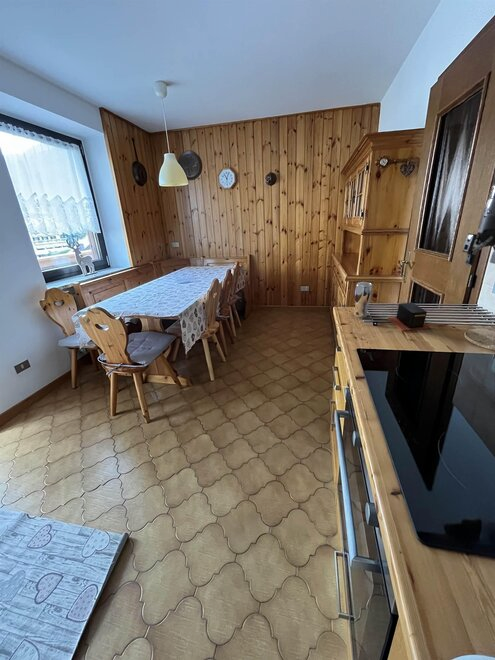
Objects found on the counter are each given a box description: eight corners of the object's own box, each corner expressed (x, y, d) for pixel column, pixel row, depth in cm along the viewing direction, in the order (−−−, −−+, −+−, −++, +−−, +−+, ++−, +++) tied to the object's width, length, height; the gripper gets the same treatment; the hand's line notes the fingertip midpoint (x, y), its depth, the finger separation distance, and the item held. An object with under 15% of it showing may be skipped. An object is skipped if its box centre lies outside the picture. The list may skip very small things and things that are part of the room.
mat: (414, 316, 126) (414, 315, 126) (431, 328, 116) (431, 327, 115) (387, 318, 126) (387, 317, 126) (402, 331, 115) (402, 330, 115)
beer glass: (365, 311, 134) (370, 281, 127) (370, 318, 127) (374, 286, 121) (350, 312, 134) (354, 281, 127) (354, 318, 128) (358, 287, 121)
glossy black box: (396, 318, 125) (398, 303, 122) (409, 317, 125) (412, 302, 122) (410, 329, 115) (413, 313, 112) (424, 328, 115) (428, 312, 112)
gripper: (508, 210, 93) (492, 260, 100) (466, 213, 92) (452, 263, 100) (530, 212, 86) (510, 265, 93) (485, 216, 86) (469, 268, 93)
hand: (481, 264), depth 97 cm, fingers open, 8 cm apart
